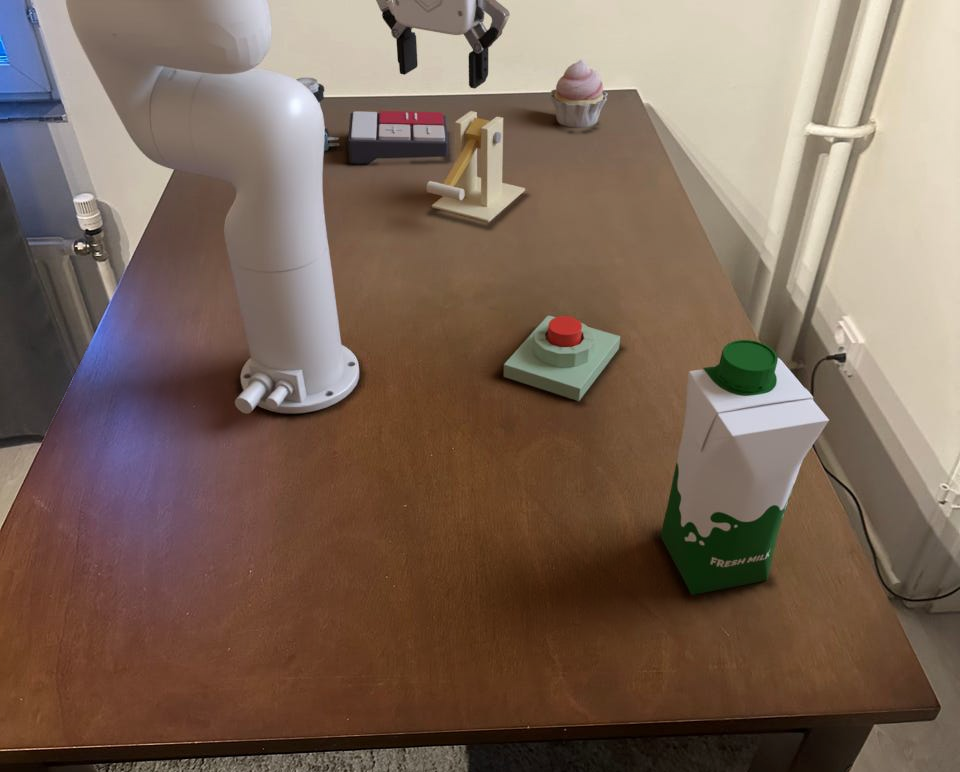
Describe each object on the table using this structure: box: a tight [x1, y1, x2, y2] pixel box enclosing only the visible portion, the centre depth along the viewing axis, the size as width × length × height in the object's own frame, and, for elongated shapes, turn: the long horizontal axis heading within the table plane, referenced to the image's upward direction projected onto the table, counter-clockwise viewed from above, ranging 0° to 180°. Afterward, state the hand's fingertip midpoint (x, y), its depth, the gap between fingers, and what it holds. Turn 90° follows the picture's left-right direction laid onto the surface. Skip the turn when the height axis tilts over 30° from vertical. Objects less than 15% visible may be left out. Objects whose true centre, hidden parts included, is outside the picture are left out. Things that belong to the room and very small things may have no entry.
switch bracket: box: [431, 110, 526, 223], centre depth 122 cm, size 11×9×12 cm
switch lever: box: [425, 117, 490, 201], centre depth 117 cm, size 12×5×2 cm, turn 151°
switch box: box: [503, 315, 621, 402], centre depth 97 cm, size 11×9×4 cm
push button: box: [296, 76, 340, 152], centre depth 136 cm, size 7×5×10 cm
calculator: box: [347, 110, 449, 165], centre depth 138 cm, size 11×4×15 cm
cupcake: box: [549, 59, 608, 129], centre depth 142 cm, size 9×9×10 cm
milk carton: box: [660, 339, 830, 596], centre depth 71 cm, size 9×9×20 cm
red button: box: [548, 315, 582, 347], centre depth 96 cm, size 4×4×2 cm
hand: (442, 77), depth 108 cm, fingers open, 9 cm apart
